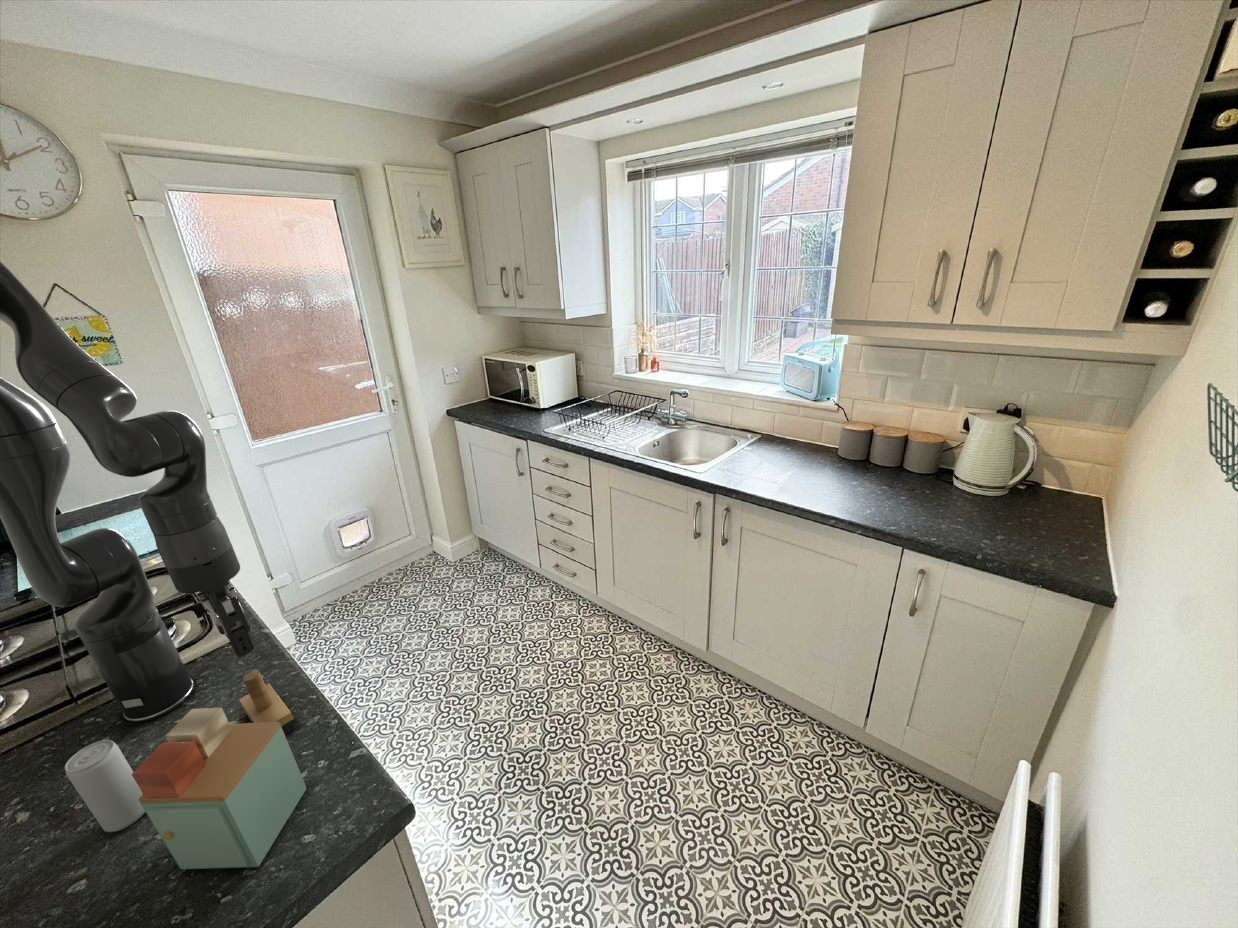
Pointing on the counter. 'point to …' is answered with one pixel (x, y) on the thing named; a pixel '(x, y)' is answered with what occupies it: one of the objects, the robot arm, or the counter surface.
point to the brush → (265, 703)
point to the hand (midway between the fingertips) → (237, 641)
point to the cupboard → (232, 801)
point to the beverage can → (106, 785)
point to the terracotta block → (169, 770)
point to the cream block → (202, 729)
